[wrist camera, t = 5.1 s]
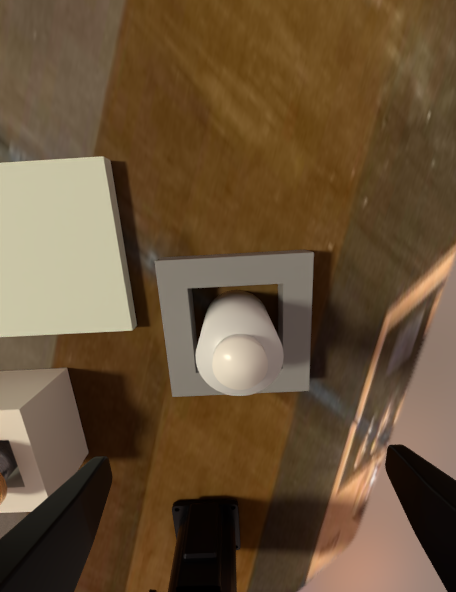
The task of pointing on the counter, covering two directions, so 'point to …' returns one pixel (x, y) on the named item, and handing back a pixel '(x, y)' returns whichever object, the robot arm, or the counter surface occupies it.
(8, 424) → the plunger housing
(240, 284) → the socket
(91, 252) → the dock pad
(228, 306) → the cylinder
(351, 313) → the counter surface
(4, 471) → the plunger
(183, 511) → the robot arm
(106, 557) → the counter surface
